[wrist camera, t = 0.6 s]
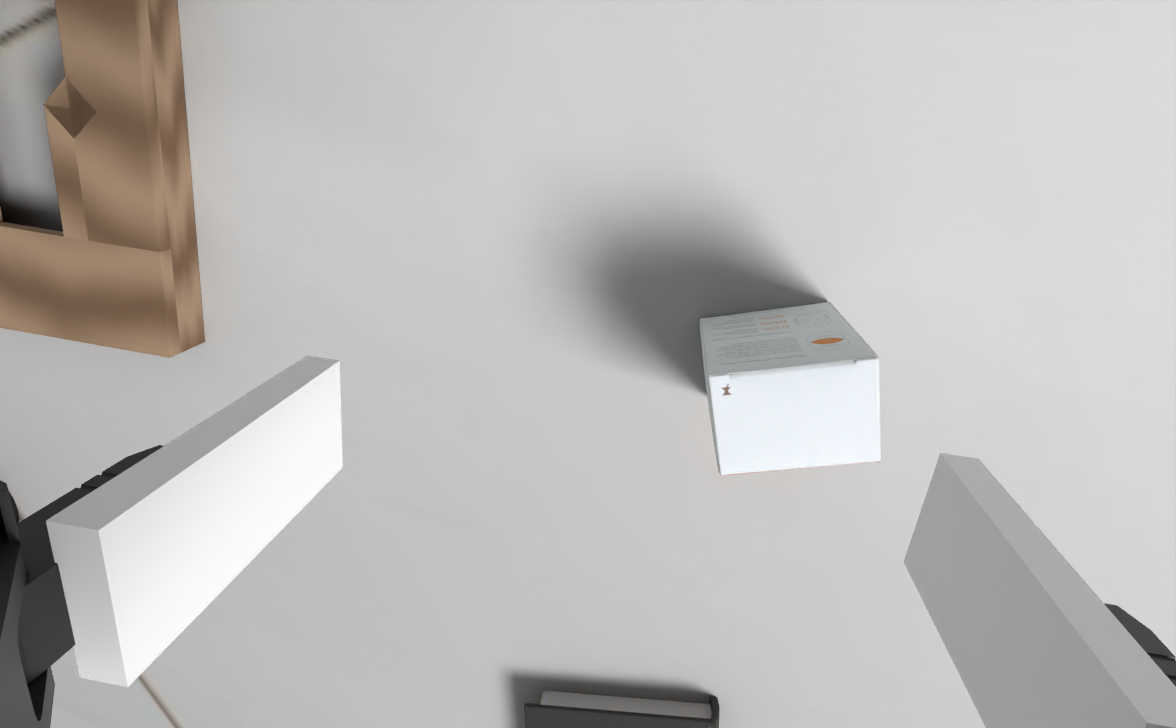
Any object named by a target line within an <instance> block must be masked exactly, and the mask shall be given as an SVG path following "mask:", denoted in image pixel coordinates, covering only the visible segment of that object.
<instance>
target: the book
mask: <svg viewBox="0 0 1176 728" xmlns="http://www.w3.org/2000/svg"><path fill="white" fill-rule="evenodd" d="M524 709H525V720H526V728H719V703H718V699H717V697H715V696H710V704H703V703H691V702H679V701H666V700H654V699H642V698H629V697H617V696H604V695H592V694H580V693H567V692H555V691H543V694H542V698H541V702H540V704H530V703H527V704H525V706H524Z"/></svg>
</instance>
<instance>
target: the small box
mask: <svg viewBox="0 0 1176 728" xmlns="http://www.w3.org/2000/svg"><path fill="white" fill-rule="evenodd" d="M699 323H700V334H701V344H702V355H703V365H704V373H705V382H706V390H707V397H708V404H709V411H710V418H711V425H712V432H713V439H714V446H715V452H716V458H717V465H718V470H719V473H720V475H721V476H724V475H734V474H746V473H757V472H768V471H779V470H789V469H801V468H812V467H823V466H835V465H845V464H858V463H869V462H880V460H881V430H880V378H879V357H878V355H877V354H876V353H875V352H874V351H873V350H872V349H871V348H870V346H869V345H868V344H867V343H866V342H865V341H864V340H863V339H862V337H861V336H860V335H859V334H858V333H857V332H856V331H855V330H854V328H853V327H852V326H851V325H850V324H849V323H848V322H847V321H846V320H845V318H844V317H843V316H842V315H841V314H840V313H839V312H838V311H837V310H836V308H835V307H834V306H833V305H832V304H831V303H830V302H824V303H817V304H810V305H802V306H795V307H786V308H779V309H771V310H763V311H755V312H747V313H740V314H733V315H725V316H717V317H709V318H701V319H700V320H699Z"/></svg>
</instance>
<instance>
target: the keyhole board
mask: <svg viewBox="0 0 1176 728" xmlns="http://www.w3.org/2000/svg"><path fill="white" fill-rule="evenodd" d="M55 5H56V13H57V20H58V27H59V34H60V41H61V49H62V56H63V63H64V70H65V78H64V79H63V80H62V82H61V83H60V84H59V85H58V87H57V88H56V89H55V90H54V91H53V93H52V94H51V95H50V96H49V98H48V99H47V100H46V101H45V103H44V104H43V105H44V109H45V116H46V122H47V129H48V136H49V142H50V149H51V155H52V162H53V168H54V175H55V182H56V188H57V195H58V201H59V208H60V214H61V221H62V228H63V232H62V231H56V230H50V229H43V228H37V227H31V226H25V225H19V224H13V223H7V222H3V219H2V213H1V208H0V328H5V329H11V330H16V331H22V332H28V333H33V334H39V335H45V336H50V337H56V338H62V339H67V340H73V341H79V342H84V343H90V344H96V345H101V346H107V347H113V348H118V349H124V350H130V351H135V352H141V353H146V354H152V355H158V356H163V357H169V358H170V357H173V356H175V355H177V354H179V353H181V352H184V351H186V350H188V349H190V348H192V347H194V346H197V345H199V344H201V343H203V342H205V337H204V325H203V313H202V300H201V288H200V276H199V263H198V251H197V239H196V226H195V214H194V202H193V190H192V177H191V165H190V153H189V140H188V128H187V116H186V103H185V91H184V79H183V66H182V54H181V42H180V29H179V17H178V5H177V0H55Z"/></svg>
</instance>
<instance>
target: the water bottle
mask: <svg viewBox="0 0 1176 728" xmlns="http://www.w3.org/2000/svg"><path fill="white" fill-rule="evenodd" d="M9 495H10V499H11V503H12V508H13V512H14V516H15V520H16V524H17V523H19V515H18V510H17V507H16V504H15V502H14V500H13V498H12V496H11V494H10V493H9Z"/></svg>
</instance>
